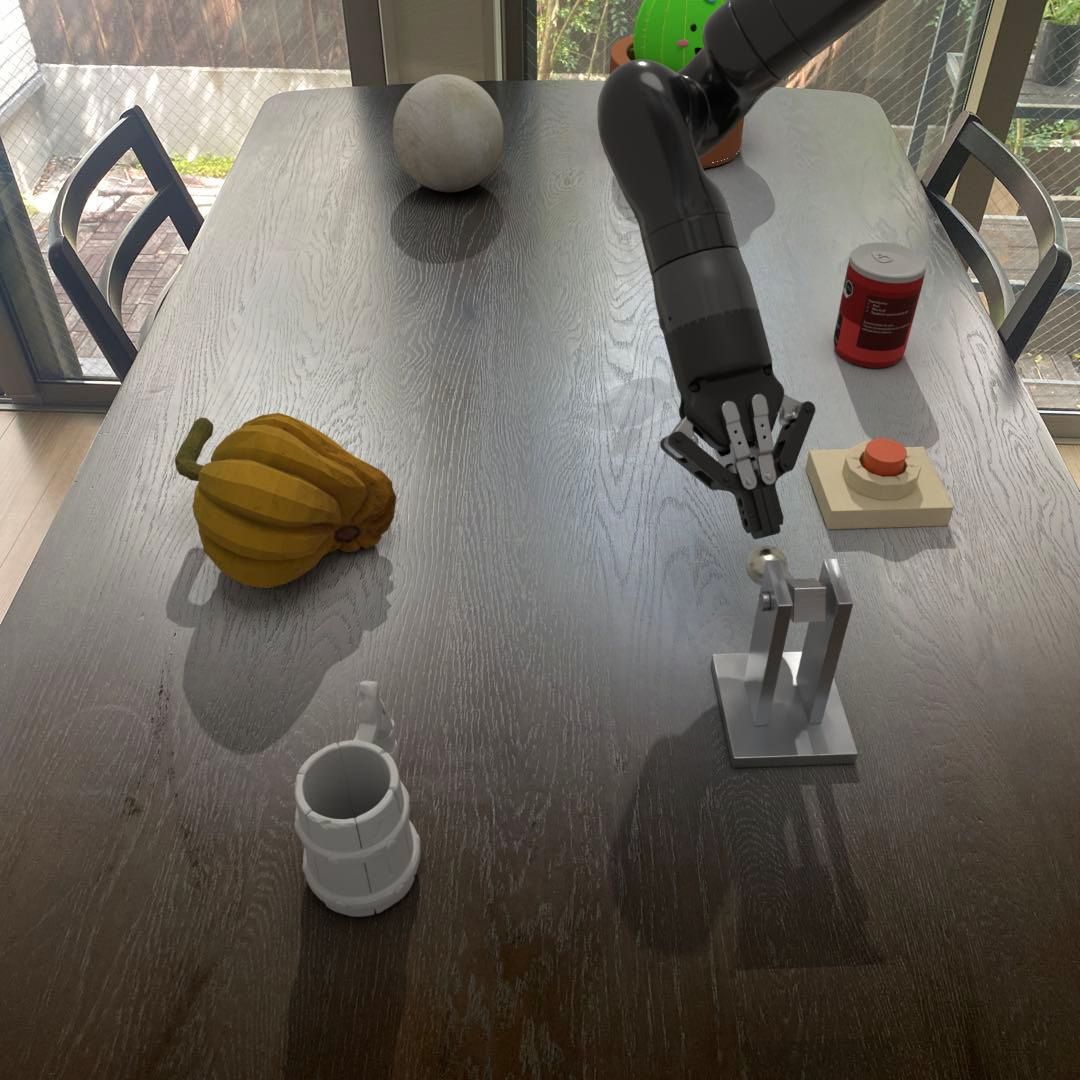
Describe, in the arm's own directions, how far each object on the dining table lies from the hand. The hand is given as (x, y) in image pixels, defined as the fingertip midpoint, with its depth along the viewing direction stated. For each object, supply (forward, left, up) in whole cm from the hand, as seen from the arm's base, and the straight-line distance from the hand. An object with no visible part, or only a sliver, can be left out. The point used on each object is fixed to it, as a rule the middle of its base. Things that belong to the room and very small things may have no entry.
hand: (767, 535), depth 83 cm
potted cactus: (-7, -97, -9) cm, 98 cm away
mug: (+30, +20, -9) cm, 37 cm away
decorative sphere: (+27, -85, -9) cm, 89 cm away
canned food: (-20, -40, -9) cm, 46 cm away
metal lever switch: (0, +10, -9) cm, 13 cm away
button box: (-14, -15, -9) cm, 22 cm away
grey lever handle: (0, +6, -1) cm, 6 cm away
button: (-14, -15, -5) cm, 21 cm away
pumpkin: (+40, -10, -9) cm, 42 cm away
